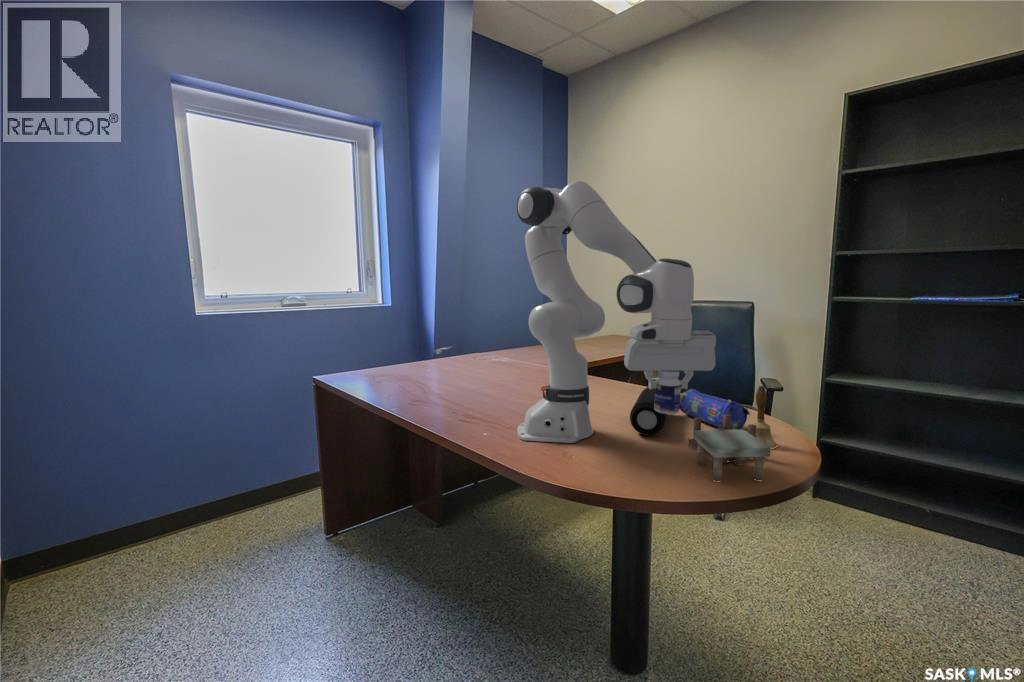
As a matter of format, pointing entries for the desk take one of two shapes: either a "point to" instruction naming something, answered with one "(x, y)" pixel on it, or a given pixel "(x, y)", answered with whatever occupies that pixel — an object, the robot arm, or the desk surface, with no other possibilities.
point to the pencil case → (713, 409)
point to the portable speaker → (647, 414)
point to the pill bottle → (667, 392)
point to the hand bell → (761, 427)
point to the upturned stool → (726, 426)
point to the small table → (730, 449)
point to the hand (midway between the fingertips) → (667, 388)
